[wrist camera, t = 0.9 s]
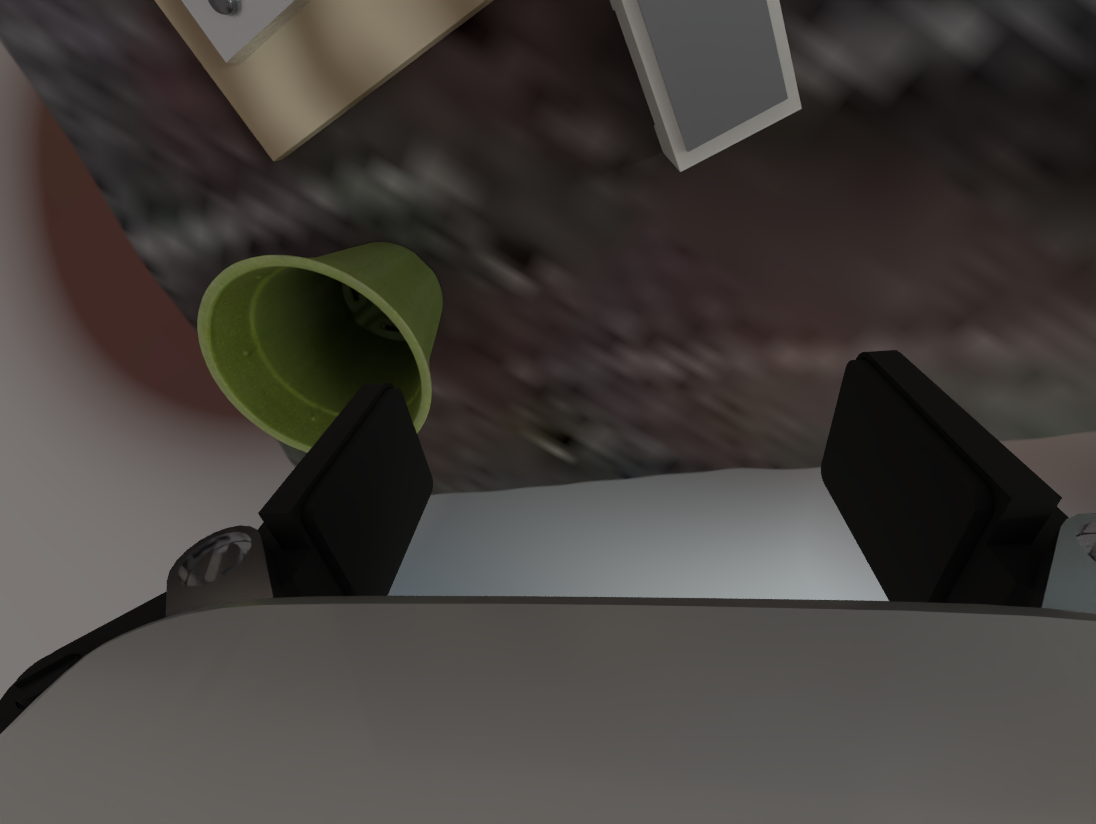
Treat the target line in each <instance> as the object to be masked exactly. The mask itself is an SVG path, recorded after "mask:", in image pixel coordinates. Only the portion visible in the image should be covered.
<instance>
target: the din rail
mask: <svg viewBox="0 0 1096 824" xmlns="http://www.w3.org/2000/svg"><path fill="white" fill-rule="evenodd" d="M310 1H311V0H182V2H183V3H184V5H185V6H186V7H187V9H188V10H189V12H190V13H191V14H192V16H193V17H194V19H195V20H196V21H197V23H198V24H199V26H200V27H201V28H202V30H203V31H204V33H205V34H206V35H207V37H208V38H209V40H210V41H211V42H212V44H213V45H214V47H215V48H216V49H217V51H218V52H219V54H220V55H221V56H222V58H223V59H224V61H225V62H226V63H237V64H241V63H242V62H243V61H244V60H245V59H247V58H248V57H249V56H250V55H251V54H252V53H253V52H254V51H256V50H257V49H258V48H259V47H260V46H261V45H262V44H263V43H264V42H266V41H267V40H268V39H269V38H270V37H271V36H272V35H273V34H275V33H276V32H277V31H278V30H279V29H280V28H281V27H282V26H283V25H285V24H286V23H287V22H288V21H289V20H290V19H291V18H292V17H294V16H295V15H296V14H297V13H298V12H299V11H300V10H301V9H303V8H304V7H305V6H306V5H307V4H308V3H309V2H310Z"/></svg>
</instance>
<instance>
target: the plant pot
mask: <svg viewBox="0 0 1096 824" xmlns="http://www.w3.org/2000/svg"><path fill="white" fill-rule="evenodd" d="M351 288H353V289H355V290H356V291H358V298H359V300H355V299H354V297H353V294H352V291H351ZM442 307H443V297H442V291H441V288H440V285H439V282H438V280H437V278H436V276H435V274H434V273H433V271H432V270H431V269H430V268H429V267H428V266H427V265H426V264H425V263H424V262H423V261H422V260H421V259H420V258H419V257H418V256H417V255H416V254H415V253H414V252H412V251H411V250H409V249H407V248H405V247H402V246H400V245H397V244H394V243H389V242H373V243H368V244H364V245H360V246H356V247H352V248H349V249H345V250H342V251H338V252H334V253H330V254H326V255H323V256H319V257H316V258H303V257H298V256H291V255H264V256H258V257H253V258H249V259H245V260H242V261H239V262H237V263H235V264H233V265H231V266H229V267H228V268H226V269H225V270H223V271H222V272H221V273H220V274H219V275H218V276H217V277H216V278H215V279H214V280H213V281H212V282H211V284H210V285H209V287H208V288H207V289H206V291H205V293H204V295H203V298H202V301H201V304H200V308H199V312H198V320H197V330H198V338H199V342H200V347H201V351H202V354H203V357H204V359H205V362H206V365H207V367H208V369H209V371H210V373H211V375H212V377H213V379H214V380H215V381H216V383H217V385H218V386H219V388H220V389H221V390H222V392H223V393H224V394H225V395H226V397H227V398H228V399H229V401H230V402H231V403H232V404H233V405H234V406H235V407H236V408H237V409H238V410H239V411H240V412H241V413H242V414H243V415H244V416H245V417H247V418H248V419H249V420H250V421H251V422H253V423H254V424H255V425H256V426H258V427H259V428H261V429H262V430H263V431H265V432H266V433H268V434H269V435H271V436H273V437H274V438H276V439H278V440H279V441H281V442H283V443H285V444H287V445H289V446H292V447H294V448H296V449H299V450H302V451H304V452H306V453H308V451H309V450H310V449H311V448H312V447H313V445H314V444H315V443H316V442H317V440H318V439H319V438H320V437H321V436H322V434H323V433H324V432H325V431H326V429H327V428H328V427H329V426H330V424H331V423H332V422H333V421H334V420H335V418H336V417H337V416H338V415H339V413H340V412H341V411H342V410H343V409H344V407H345V406H346V405H347V404H348V402H349V401H350V400H351V399H352V397H353V396H354V395H355V394H356V393H357V391H358V390H359V389H360V388H361V387H362V386H363V385H364V384H375V383H391V384H392V385H393V386H394V388H398V389H400V390H401V391H402V393H403V396H404V399H405V401H406V404H407V407H408V410H409V413H410V416H411V419H412V421H413V424H414V427H415V430H416V433H418V432H419V430H420V429H421V427H422V426H423V424H424V422H425V420H426V418H427V415H428V412H429V409H430V404H431V397H432V383H431V376H430V370H429V359H430V355H431V351H432V348H433V344H434V340H435V336H436V333H437V329H438V325H439V321H440V317H441V313H442ZM386 325H390V326H396V327H397V328H398V329H399V332H398V331H391V330H387V329H386V328H385V326H386Z"/></svg>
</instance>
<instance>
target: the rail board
mask: <svg viewBox="0 0 1096 824" xmlns="http://www.w3.org/2000/svg"><path fill="white" fill-rule="evenodd" d="M492 1H493V0H311V1H310V2H309V3H308V4H307V5H306V6H305V7H304V8H303V9H301V10H300V11H299V12H298V13H297V14H296V15H295V16H294V17H292V18H291V19H290V20H289V21H288V22H287V23H286V24H285V25H283V26H282V27H281V28H280V29H279V30H278V31H277V32H276V33H275V34H273V35H272V36H271V37H270V38H269V39H268V40H267V41H266V42H264V43H263V44H262V45H261V46H260V47H259V48H258V49H257V50H256V51H254V52H253V53H252V54H251V55H250V56H249V57H248V58H247V59H245V60H244V61H243V62H242V63H241V64H237V63H226V62H225V61H224V59H223V58H222V56H221V55H220V54H219V52H218V51H217V49H216V48H215V47H214V45H213V44H212V42H211V41H210V40H209V38H208V37H207V35H206V34H205V33H204V31H203V30H202V28H201V27H200V26H199V24H198V23H197V21H196V20H195V19H194V17H193V16H192V14H191V13H190V12H189V10H188V9H187V7H186V6H185V5H184V3H183V2H182V0H155V2H156V3H157V4H158V6H159V7H160V8H161V10H162V11H163V12H164V14H165V15H166V16H167V18H168V19H169V21H170V22H171V23H172V25H173V26H174V27H175V29H176V30H177V31H178V33H179V34H180V35H181V37H182V38H183V40H184V41H185V42H186V44H187V45H188V46H189V48H190V49H191V50H192V52H193V53H194V54H195V56H196V57H197V59H198V60H199V61H200V63H201V64H202V65H203V67H204V68H205V69H206V71H207V72H208V73H209V75H210V76H211V78H212V79H213V80H214V82H215V83H216V84H217V86H218V87H219V88H220V90H221V91H222V92H223V94H224V95H225V97H226V98H227V99H228V101H229V102H230V103H231V105H232V106H233V107H234V109H235V110H236V111H237V113H238V114H239V115H240V117H241V118H242V120H243V121H244V122H245V124H246V125H247V126H248V128H249V129H250V130H251V132H252V133H253V134H254V136H255V137H256V139H257V140H258V141H259V143H260V144H261V145H262V147H263V148H264V149H265V151H266V152H267V153H268V155H269V156H270V158H271V159H272V160H273V161H278V160H282V159H284V158H285V157H287V156H288V155H289V154H291V153H292V152H293V151H295V150H296V149H297V148H299V147H300V146H301V145H303V144H304V143H305V142H307V141H308V140H309V139H311V138H312V137H313V136H315V135H316V134H317V133H318V132H320V131H321V130H322V129H324V128H325V127H326V126H328V125H329V124H330V123H332V122H333V121H334V120H336V119H337V118H338V117H340V116H341V115H342V114H344V113H345V112H346V111H348V110H349V109H350V108H352V107H353V106H354V105H356V104H357V103H358V102H360V101H361V100H362V99H364V98H365V97H366V96H368V95H369V94H370V93H372V92H373V91H374V90H375V89H377V88H378V87H379V86H381V85H382V84H383V83H385V82H386V81H387V80H389V79H390V78H391V77H393V76H394V75H395V74H397V73H398V72H399V71H401V70H402V69H403V68H405V67H406V66H407V65H409V64H410V63H411V62H413V61H414V60H415V59H417V58H418V57H419V56H421V55H422V54H423V53H425V52H426V51H427V50H429V49H430V48H431V47H432V46H434V45H435V44H436V43H438V42H439V41H440V40H442V39H443V38H444V37H446V36H447V35H448V34H450V33H451V32H452V31H454V30H455V29H456V28H458V27H459V26H460V25H462V24H463V23H464V22H466V21H467V20H468V19H470V18H471V17H472V16H474V15H475V14H476V13H478V12H479V11H480V10H482V9H483V8H484V7H486V6H487V5H488V4H489V3H491V2H492Z"/></svg>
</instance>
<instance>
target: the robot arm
mask: <svg viewBox="0 0 1096 824" xmlns="http://www.w3.org/2000/svg"><path fill="white" fill-rule="evenodd" d="M821 475H822V479H823V482H824V484H825V486H826V487H827V489H828V491H829V493H830V495H831V496H832V498H833V500H834V502H835V504H836V505H837V507H838V509H839V511H840V513H841V515H842V516H843V518H844V520H845V522H846V524H847V526H848V527H849V529H850V531H851V533H852V534H853V536H854V538H855V540H856V542H857V544H858V545H859V547H860V549H861V551H862V553H863V554H864V556H865V558H866V560H867V562H868V563H869V565H870V567H871V569H872V571H873V572H874V574H875V576H876V578H877V580H878V581H879V583H880V585H881V587H882V589H883V590H884V592H885V594H886V596H887V598H888V599H889V601H852V600H789V599H722V598H721V599H720V598H641V597H637V598H636V597H539V596H538V597H537V596H532V597H531V596H530V597H529V596H387V595H388V593H389V591H390V588H391V586H392V584H393V581H394V579H395V577H396V574H397V572H398V570H399V567H400V565H401V563H402V560H403V558H404V555H405V553H406V551H407V548H408V546H409V544H410V542H411V539H412V537H413V535H414V532H415V530H416V528H417V525H418V523H419V520H420V518H421V516H422V514H423V511H424V509H425V507H426V504H427V502H428V499H429V497H430V495H431V492H432V488H433V479H432V475H431V472H430V470H429V467H428V464H427V461H426V458H425V455H424V453H423V450H422V447H421V444H420V441H419V438H418V436H417V433H416V430H415V427H414V424H413V421H412V419H411V416H410V413H409V410H408V407H407V404H406V401H405V399H404V396H403V393H402V391H401V390H400V389H398V388H394V386H393V385H392V384H391V383H375V384H364V385H363V386H362V387H361V388H360V389H359V390H358V391H357V393H356V394H355V395H354V396H353V397H352V399H351V400H350V401H349V402H348V404H347V405H346V406H345V407H344V409H343V410H342V411H341V412H340V413H339V415H338V416H337V417H336V418H335V420H334V421H333V422H332V423H331V424H330V426H329V427H328V428H327V429H326V431H325V432H324V433H323V434H322V436H321V437H320V438H319V439H318V440H317V442H316V443H315V444H314V445H313V447H312V448H311V449H310V450H309V451H308V453H307V454H306V455H305V456H304V458H303V459H302V460H301V461H300V463H299V464H298V465H297V466H296V467H295V469H294V470H293V471H292V473H291V474H290V475H289V476H288V477H287V478H286V480H285V481H284V482H283V483H282V485H281V486H280V487H279V488H278V490H277V491H276V492H275V493H274V494H273V496H272V497H271V498H270V499H269V501H268V502H267V503H266V504H265V505H264V507H263V508H262V509H261V511H260V512H259V515H260V517H261V518H262V520H263V521H264V523H263V524H262V525H261V526H260V528H259V529H258V530H257V529H255V528H253V527H250V526H234V527H229V528H226V529H223V530H220V531H217V532H215V533H213V534H211V535H209V536H207V537H205V538H203V539H201V540H200V541H198V542H197V543H196V544H194V545H193V546H192V547H190V548H189V549H188V550H186V551H185V552H184V553H183V555H182V556H181V557H179V559H177V561H176V562H175V564H174V565H173V567H172V568H171V570H170V571H169V575H168V579H167V591H166V592H165V593H163V594H161V595H159V596H157V597H155V598H154V599H152V600H150V601H148V602H146V603H144V604H142V605H140V606H138V607H137V608H135V609H133V610H131V611H129V612H127V613H125V614H124V615H122V616H120V617H118V618H116V619H114V620H112V621H111V622H109V623H107V624H105V625H103V626H101V627H99V628H97V629H95V630H94V631H92V632H90V633H88V634H86V635H84V636H82V637H81V638H79V639H77V640H75V641H73V642H71V643H69V644H67V645H66V646H64V647H62V648H60V649H58V650H56V651H55V652H53V653H52V654H50V655H48V656H46V657H44V658H42V659H40V660H39V661H37V662H36V663H34V664H33V665H32V666H30V667H29V668H28V669H27V670H26V671H25V672H24V673H23V674H22V675H21V676H20V677H19V678H18V679H17V681H16V682H15V683H14V684H13V685H12V686H11V687H10V688H9V689H8V690H7V692H6V693H5V694H4V696H3V697H2V698H1V700H0V824H1096V513H1085V514H1077V515H1075V516H1072V517H1070V518H1068V516H1066V515H1065V514H1064V513H1063V512H1062V511H1061V510H1060V509H1059V508H1058V507H1057V504H1058V503H1059V502H1060V500H1061V499H1062V497H1061V496H1059V495H1058V494H1057V493H1056V492H1055V491H1054V490H1053V489H1052V488H1050V487H1049V486H1048V485H1047V484H1046V483H1045V482H1044V481H1043V480H1041V478H1039V477H1038V476H1037V475H1036V474H1035V473H1034V472H1033V471H1032V470H1030V469H1029V468H1028V467H1027V466H1026V465H1025V464H1024V463H1023V462H1022V461H1020V460H1019V459H1018V458H1017V457H1016V456H1015V455H1014V454H1013V453H1012V452H1010V451H1009V450H1008V449H1007V448H1006V447H1005V446H1004V445H1003V444H1002V443H1000V442H999V441H998V440H997V439H996V438H995V437H994V436H993V435H991V434H990V433H989V432H988V431H987V430H986V429H985V428H984V427H983V426H981V425H980V424H979V423H978V422H977V421H976V420H975V419H974V418H973V417H971V416H970V415H969V414H968V413H967V412H966V411H965V410H964V409H963V408H961V407H960V406H959V405H958V404H957V403H956V402H955V401H954V400H952V399H951V398H950V397H949V396H948V395H947V394H946V393H945V392H944V391H942V390H941V389H940V388H939V387H938V386H937V385H936V384H935V383H934V382H932V381H931V380H930V379H929V378H928V377H927V376H926V375H925V374H924V373H922V372H921V371H920V370H919V369H918V368H917V367H916V366H915V365H913V364H912V363H911V362H910V361H909V360H908V359H907V358H906V357H905V356H903V355H902V354H901V353H900V352H898V351H897V350H890V351H875V352H862V353H861V354H859V355H858V357H857V358H856V360H851V361H849V362H848V364H847V366H846V369H845V373H844V377H843V381H842V384H841V388H840V392H839V396H838V400H837V404H836V408H835V412H834V416H833V420H832V424H831V428H830V432H829V436H828V440H827V444H826V448H825V452H824V456H823V460H822V464H821Z"/></svg>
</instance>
